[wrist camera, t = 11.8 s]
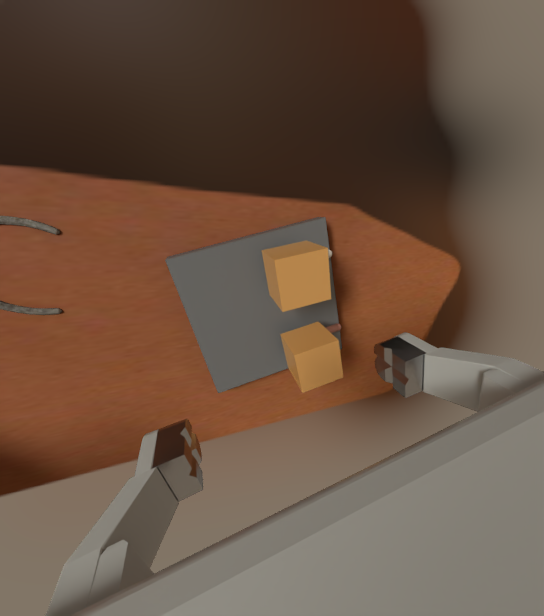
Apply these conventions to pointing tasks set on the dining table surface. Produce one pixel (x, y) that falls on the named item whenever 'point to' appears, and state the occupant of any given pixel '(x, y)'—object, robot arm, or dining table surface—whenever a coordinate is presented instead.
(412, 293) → the dining table surface
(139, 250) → the dining table surface
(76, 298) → the dining table surface
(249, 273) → the board
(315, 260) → the tan wooden toy brick
